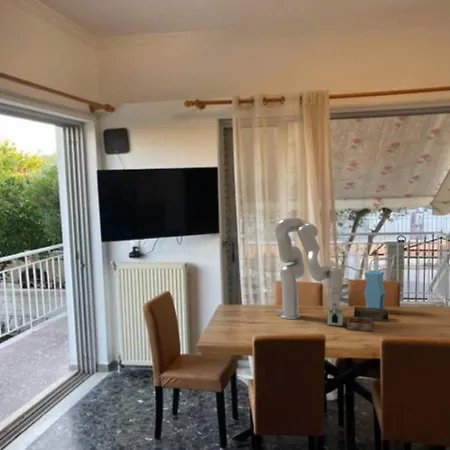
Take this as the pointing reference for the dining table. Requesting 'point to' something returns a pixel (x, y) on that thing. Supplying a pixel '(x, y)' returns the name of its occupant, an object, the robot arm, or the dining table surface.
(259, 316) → the dining table surface
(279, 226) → the robot arm
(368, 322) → the walnut crate
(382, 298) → the vase
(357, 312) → the beverage carton
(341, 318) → the small crate
